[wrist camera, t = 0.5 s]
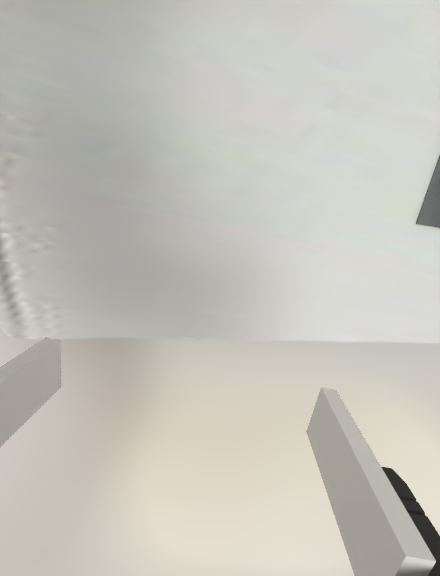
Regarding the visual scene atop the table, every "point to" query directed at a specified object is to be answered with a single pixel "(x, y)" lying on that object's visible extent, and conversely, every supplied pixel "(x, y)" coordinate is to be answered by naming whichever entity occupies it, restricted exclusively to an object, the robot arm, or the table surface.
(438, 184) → the ring seat
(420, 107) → the table surface
